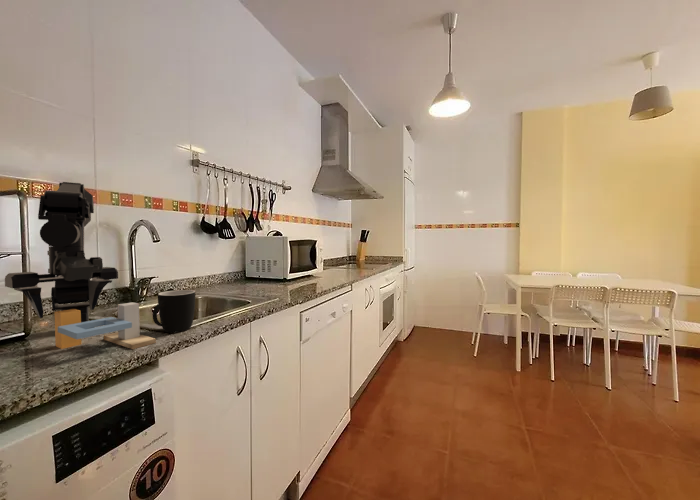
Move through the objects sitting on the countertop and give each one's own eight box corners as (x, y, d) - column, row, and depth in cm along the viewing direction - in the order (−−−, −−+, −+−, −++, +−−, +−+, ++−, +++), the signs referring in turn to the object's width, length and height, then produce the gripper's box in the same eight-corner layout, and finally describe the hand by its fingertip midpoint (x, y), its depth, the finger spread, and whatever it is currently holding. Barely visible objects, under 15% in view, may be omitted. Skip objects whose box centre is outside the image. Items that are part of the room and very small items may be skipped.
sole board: (103, 339, 77) (103, 335, 77) (126, 334, 82) (126, 330, 82) (132, 349, 70) (132, 344, 70) (155, 342, 74) (155, 338, 74)
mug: (177, 324, 91) (176, 289, 91) (203, 326, 89) (202, 290, 89) (139, 336, 80) (138, 296, 80) (168, 338, 78) (167, 298, 77)
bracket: (58, 347, 68) (57, 311, 68) (126, 332, 80) (125, 301, 79) (77, 356, 63) (76, 316, 63) (147, 338, 75) (146, 305, 74)
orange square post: (55, 346, 72) (54, 311, 72) (75, 341, 75) (74, 308, 75) (61, 348, 71) (60, 313, 70) (81, 344, 74) (80, 310, 73)
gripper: (19, 247, 60) (22, 328, 61) (128, 246, 76) (129, 309, 77) (2, 247, 66) (5, 320, 66) (107, 245, 82) (108, 304, 82)
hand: (67, 313), depth 73 cm, fingers open, 9 cm apart
